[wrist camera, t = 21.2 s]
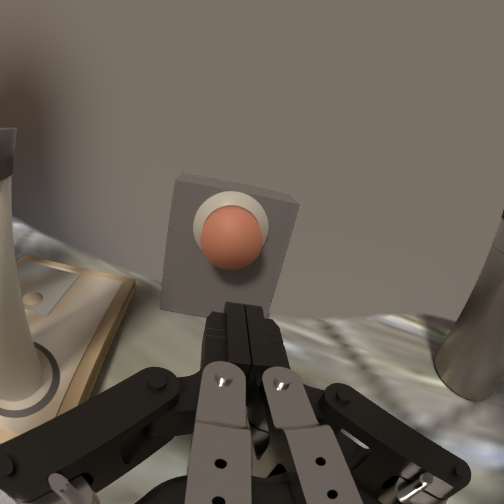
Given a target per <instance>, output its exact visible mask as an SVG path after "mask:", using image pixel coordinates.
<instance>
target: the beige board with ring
mask: <svg viewBox="0 0 504 504" xmlns="http://www.w3.org/2000/svg"><path fill="white" fill-rule="evenodd" d="M16 265H17V272H18V278H19V284H20V289H21V294H22V299H23V304H24V309H25V313H26V317H27V321H28V325H29V329H30V332H31V336H32V339H33V343H34V346H35V349H36V353H37V356H38V359H39V362H40V365H41V368H42V372H43V377H42V382H41V384H40V386H39V388H38V390H37V391H36V392H35V393H34V394H33V395H32V396H30V397H29V398H27V399H24V400H21V401H16V402H11V401H6V400H3V399H0V444H1V443H4V442H6V441H8V440H10V439H12V438H14V437H16V436H19V435H21V434H23V433H25V432H27V431H29V430H31V429H33V428H35V427H37V426H39V425H41V424H43V423H45V422H47V421H49V420H51V419H53V418H55V417H57V416H59V415H61V414H63V413H65V412H67V411H69V410H70V409H72V408H74V407H76V406H78V405H80V404H82V403H84V402H86V401H87V400H89V399H90V396H91V393H92V391H93V388H94V385H95V383H96V380H97V378H98V375H99V373H100V370H101V368H102V365H103V363H104V360H105V358H106V355H107V353H108V351H109V348H110V346H111V344H112V341H113V339H114V337H115V334H116V332H117V330H118V328H119V326H120V323H121V321H122V319H123V317H124V315H125V312H126V310H127V308H128V306H129V304H130V302H131V300H132V298H133V296H134V294H135V280H136V279H131V278H126V277H121V276H116V275H111V274H106V273H102V272H97V271H93V270H88V269H83V268H79V267H75V266H70V265H66V264H62V263H57V262H53V261H49V260H45V259H41V258H37V257H33V256H29V255H23V256H22V257H21V258H20V259H18V260H17V261H16Z"/></svg>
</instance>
